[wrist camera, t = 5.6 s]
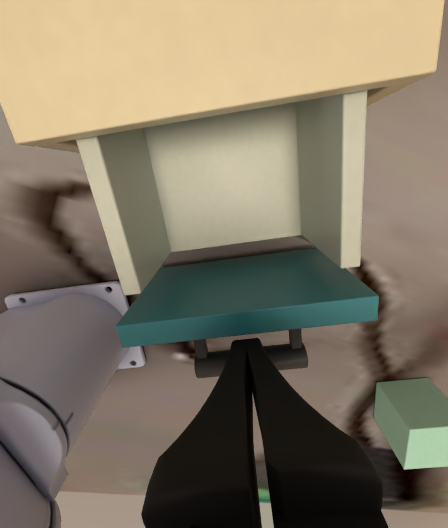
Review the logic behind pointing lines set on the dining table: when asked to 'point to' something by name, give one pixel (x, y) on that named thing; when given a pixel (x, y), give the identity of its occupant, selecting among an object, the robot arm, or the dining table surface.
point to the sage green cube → (414, 421)
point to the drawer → (236, 224)
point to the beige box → (198, 59)
